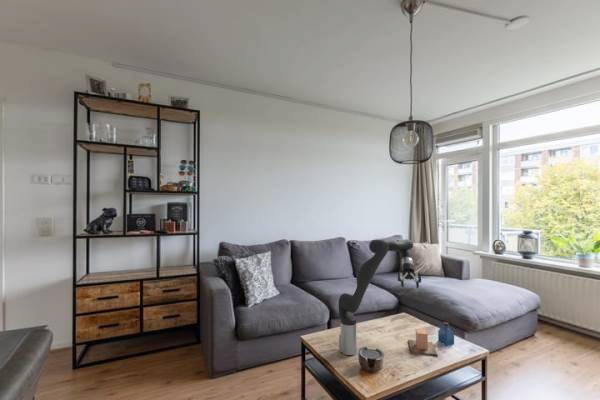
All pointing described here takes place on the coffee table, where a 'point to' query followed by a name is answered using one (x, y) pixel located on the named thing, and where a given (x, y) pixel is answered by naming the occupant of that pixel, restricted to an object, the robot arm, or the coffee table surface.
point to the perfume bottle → (446, 334)
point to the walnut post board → (415, 350)
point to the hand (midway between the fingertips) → (410, 287)
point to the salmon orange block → (421, 339)
